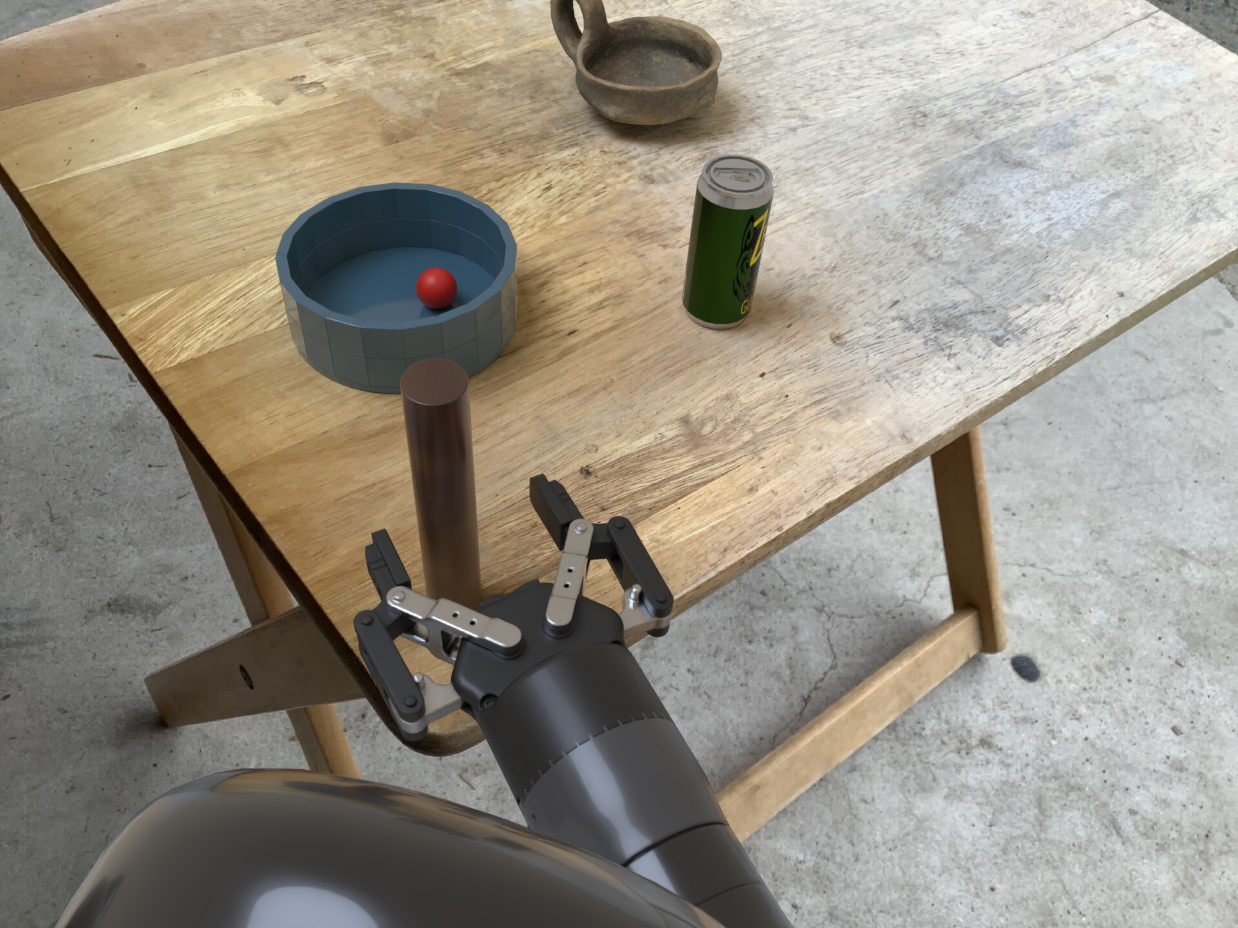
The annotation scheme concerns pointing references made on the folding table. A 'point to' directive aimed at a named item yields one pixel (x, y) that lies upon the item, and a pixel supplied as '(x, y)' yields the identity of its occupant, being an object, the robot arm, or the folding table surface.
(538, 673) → the robot arm
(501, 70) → the folding table surface
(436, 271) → the cherry
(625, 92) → the bowl
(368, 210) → the mixing bowl
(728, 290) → the beer can
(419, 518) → the brown wooden rod
